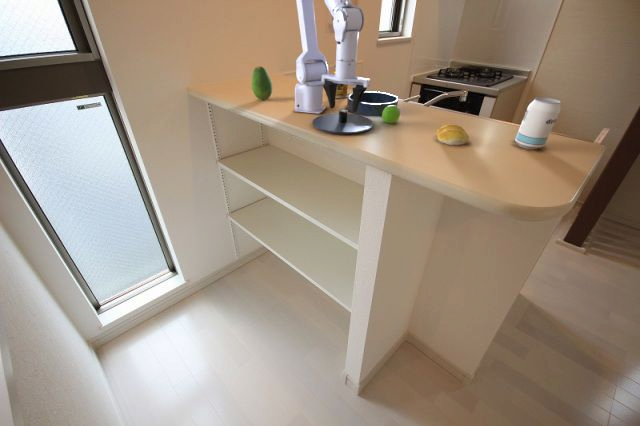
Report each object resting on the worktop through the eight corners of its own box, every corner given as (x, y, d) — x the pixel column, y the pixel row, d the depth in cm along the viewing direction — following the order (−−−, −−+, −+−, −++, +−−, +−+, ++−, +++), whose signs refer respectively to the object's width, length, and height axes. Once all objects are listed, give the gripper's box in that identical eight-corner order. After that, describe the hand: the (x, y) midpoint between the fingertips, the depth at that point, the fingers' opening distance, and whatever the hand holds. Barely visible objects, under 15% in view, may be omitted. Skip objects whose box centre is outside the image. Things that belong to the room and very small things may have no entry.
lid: (301, 128, 91) (300, 113, 88) (329, 113, 104) (330, 100, 102) (358, 140, 83) (359, 124, 81) (381, 122, 97) (382, 108, 94)
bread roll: (438, 145, 81) (442, 130, 79) (434, 134, 88) (437, 120, 86) (470, 147, 80) (475, 133, 77) (463, 136, 87) (467, 122, 85)
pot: (342, 113, 105) (342, 101, 102) (352, 100, 119) (353, 90, 117) (394, 118, 101) (396, 105, 98) (398, 104, 115) (399, 93, 113)
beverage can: (535, 152, 77) (557, 105, 70) (508, 144, 82) (526, 99, 75) (547, 147, 81) (568, 101, 74) (520, 139, 85) (538, 95, 78)
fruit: (252, 97, 121) (248, 65, 114) (271, 96, 123) (269, 64, 116) (254, 102, 115) (250, 68, 108) (274, 101, 116) (272, 67, 110)
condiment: (335, 98, 122) (337, 66, 115) (327, 93, 128) (328, 62, 121) (351, 97, 124) (353, 65, 117) (342, 92, 131) (344, 62, 124)
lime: (380, 124, 95) (382, 107, 91) (382, 119, 99) (384, 102, 96) (397, 126, 93) (400, 108, 90) (398, 121, 98) (401, 104, 95)
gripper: (375, 60, 83) (370, 109, 91) (329, 56, 89) (328, 103, 97) (366, 63, 78) (361, 115, 86) (318, 59, 84) (317, 108, 92)
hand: (343, 109), depth 91 cm, fingers open, 7 cm apart
